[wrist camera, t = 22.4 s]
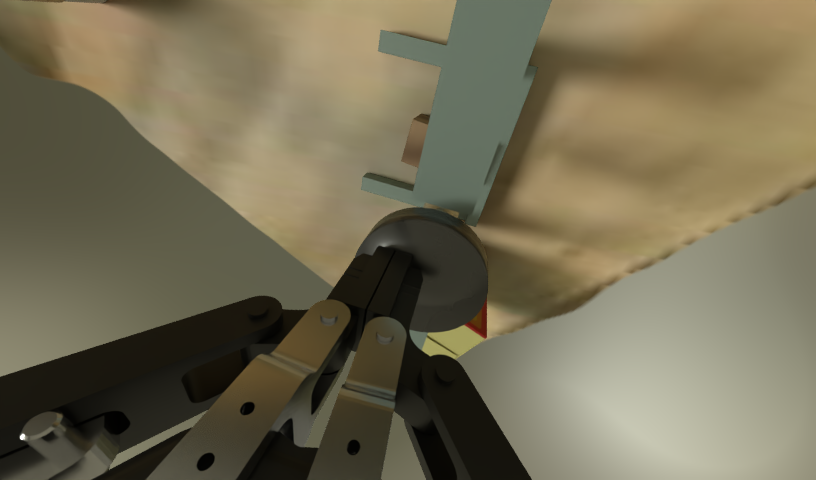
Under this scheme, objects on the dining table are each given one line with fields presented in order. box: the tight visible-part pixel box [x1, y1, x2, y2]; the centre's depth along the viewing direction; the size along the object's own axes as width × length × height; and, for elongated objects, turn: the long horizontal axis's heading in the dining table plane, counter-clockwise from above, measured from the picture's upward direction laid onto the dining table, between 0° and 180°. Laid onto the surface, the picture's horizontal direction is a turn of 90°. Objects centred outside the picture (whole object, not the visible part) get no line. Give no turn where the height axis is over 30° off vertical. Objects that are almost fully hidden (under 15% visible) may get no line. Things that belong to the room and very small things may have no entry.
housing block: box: [401, 114, 430, 167], centre depth 36 cm, size 5×9×5 cm, turn 74°
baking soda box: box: [422, 298, 487, 359], centre depth 40 cm, size 10×6×16 cm
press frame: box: [361, 0, 552, 350], centre depth 26 cm, size 22×17×26 cm
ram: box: [355, 203, 488, 333], centre depth 19 cm, size 6×6×16 cm
